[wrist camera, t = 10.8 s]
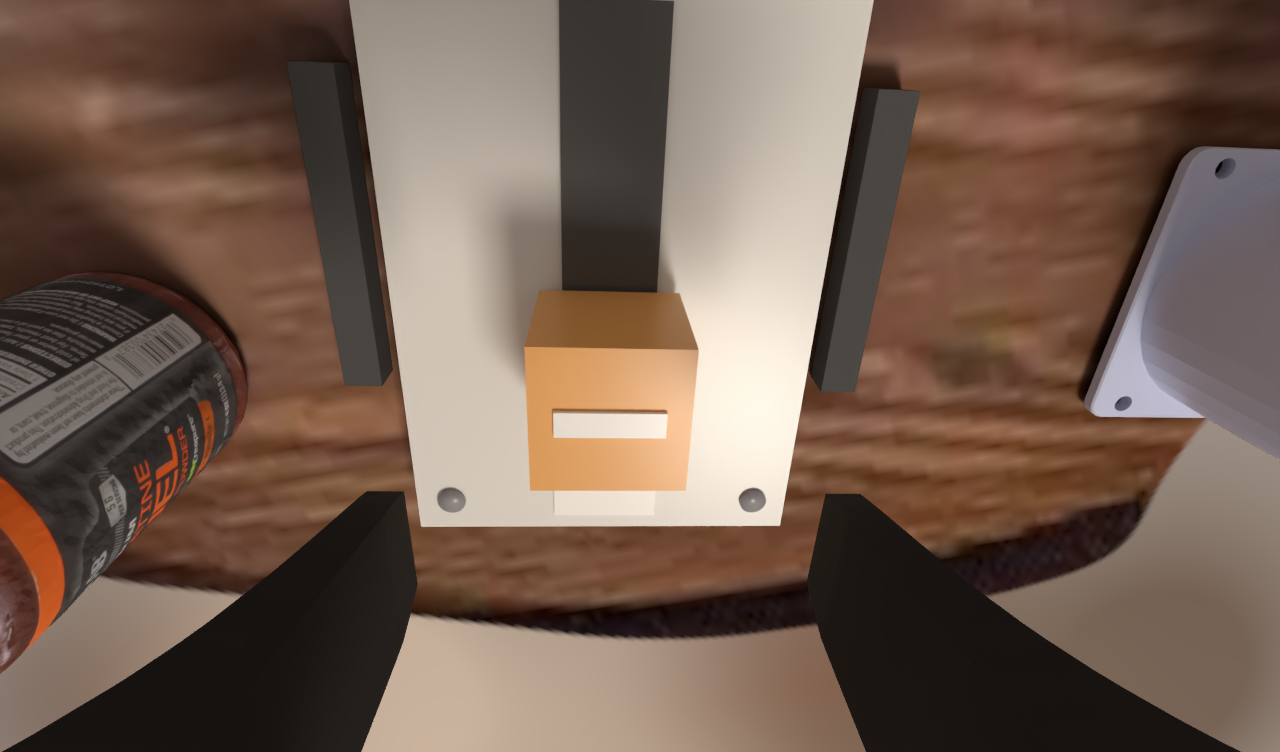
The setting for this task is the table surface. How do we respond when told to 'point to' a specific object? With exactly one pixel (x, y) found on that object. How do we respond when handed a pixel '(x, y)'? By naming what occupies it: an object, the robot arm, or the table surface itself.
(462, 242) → the panel
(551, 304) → the orange cube
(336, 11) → the table surface
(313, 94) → the twin dark grey rails
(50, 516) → the supplement bottle
